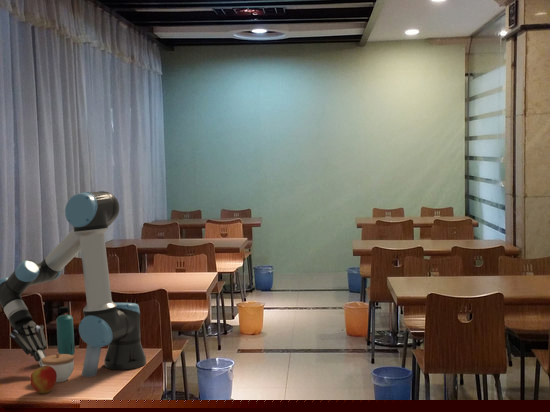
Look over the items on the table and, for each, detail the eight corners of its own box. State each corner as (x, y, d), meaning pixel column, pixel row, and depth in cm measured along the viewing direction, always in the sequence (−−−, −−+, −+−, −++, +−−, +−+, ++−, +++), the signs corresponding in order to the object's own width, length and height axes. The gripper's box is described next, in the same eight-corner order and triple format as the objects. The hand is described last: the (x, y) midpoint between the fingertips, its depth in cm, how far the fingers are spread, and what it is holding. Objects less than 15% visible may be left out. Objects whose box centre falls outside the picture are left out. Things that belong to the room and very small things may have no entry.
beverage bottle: (72, 360, 278) (70, 308, 277) (55, 360, 278) (53, 308, 277) (77, 355, 285) (75, 305, 284) (60, 356, 285) (58, 305, 284)
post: (98, 375, 259) (104, 342, 258) (91, 378, 254) (97, 346, 253) (86, 371, 260) (92, 339, 259) (79, 375, 256) (85, 342, 254)
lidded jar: (57, 386, 245) (56, 358, 244) (35, 381, 250) (34, 354, 250) (81, 378, 254) (80, 351, 253) (60, 374, 259) (59, 348, 259)
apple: (49, 396, 233) (48, 366, 233) (26, 395, 235) (25, 365, 234) (61, 389, 241) (60, 359, 241) (39, 388, 243) (38, 358, 242)
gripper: (30, 318, 273) (57, 369, 263) (-2, 324, 263) (25, 377, 253) (37, 305, 270) (65, 356, 260) (5, 311, 260) (32, 364, 250)
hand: (45, 367), depth 257 cm, fingers closed
